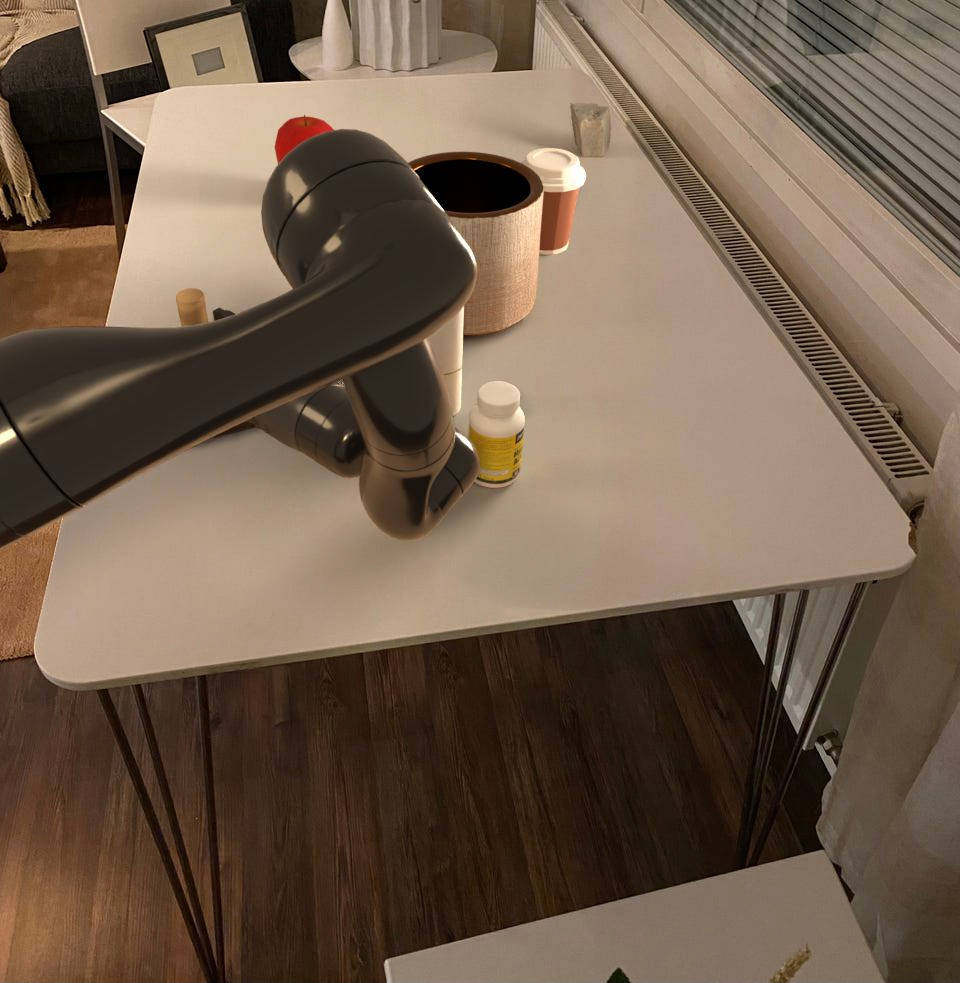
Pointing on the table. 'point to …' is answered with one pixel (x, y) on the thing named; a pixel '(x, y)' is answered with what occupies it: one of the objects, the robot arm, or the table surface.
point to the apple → (297, 133)
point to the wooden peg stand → (191, 307)
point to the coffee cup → (556, 195)
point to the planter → (491, 230)
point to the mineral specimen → (591, 128)
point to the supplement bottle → (497, 433)
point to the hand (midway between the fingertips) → (181, 333)
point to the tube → (450, 356)
